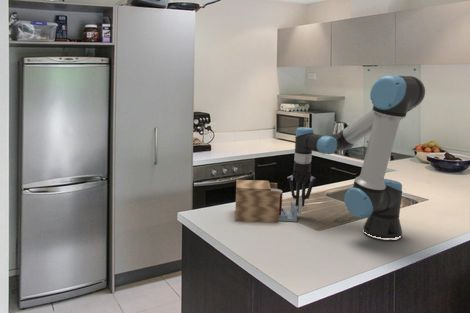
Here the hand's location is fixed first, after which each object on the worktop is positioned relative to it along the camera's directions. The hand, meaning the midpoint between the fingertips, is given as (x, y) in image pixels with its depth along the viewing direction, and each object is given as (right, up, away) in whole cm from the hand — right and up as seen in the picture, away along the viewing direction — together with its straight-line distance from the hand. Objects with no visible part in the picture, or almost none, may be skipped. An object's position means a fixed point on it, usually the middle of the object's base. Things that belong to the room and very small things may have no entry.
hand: (299, 213), depth 192 cm
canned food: (-12, -1, 0) cm, 12 cm away
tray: (-11, -1, 0) cm, 11 cm away
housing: (-19, -2, 0) cm, 19 cm away
